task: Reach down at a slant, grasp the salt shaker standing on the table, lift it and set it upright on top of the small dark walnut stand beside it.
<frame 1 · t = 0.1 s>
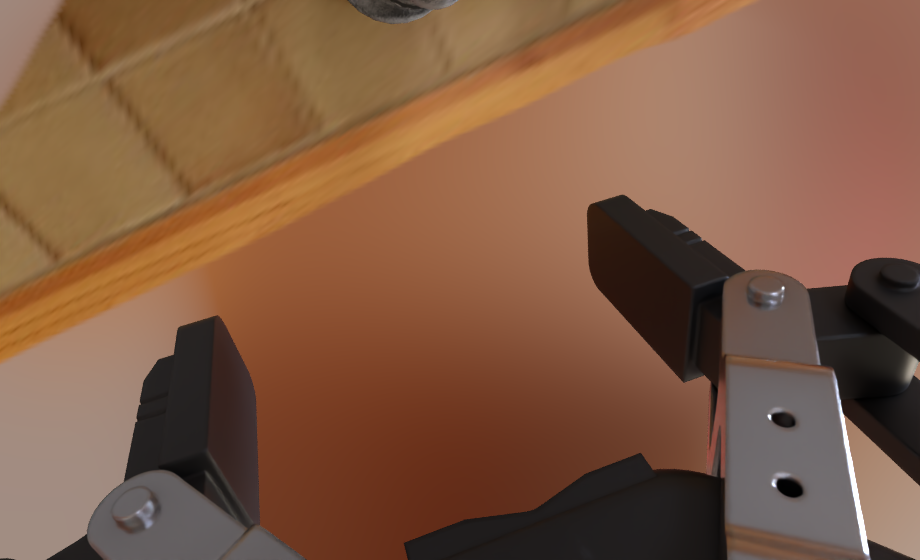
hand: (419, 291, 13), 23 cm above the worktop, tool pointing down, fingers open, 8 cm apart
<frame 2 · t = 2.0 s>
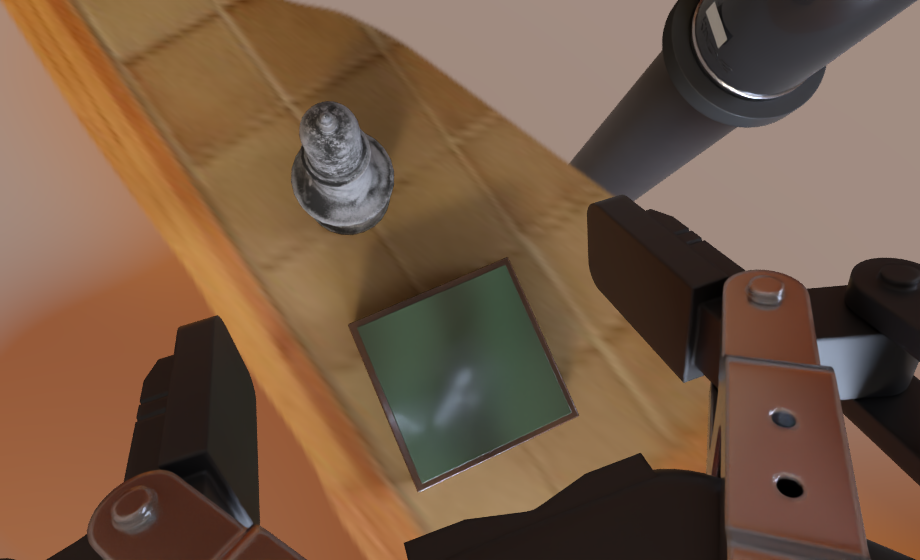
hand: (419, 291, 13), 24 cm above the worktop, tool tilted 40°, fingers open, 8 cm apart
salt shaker: (348, 195, 38), on the worktop
walnut stand: (458, 370, 37), on the worktop
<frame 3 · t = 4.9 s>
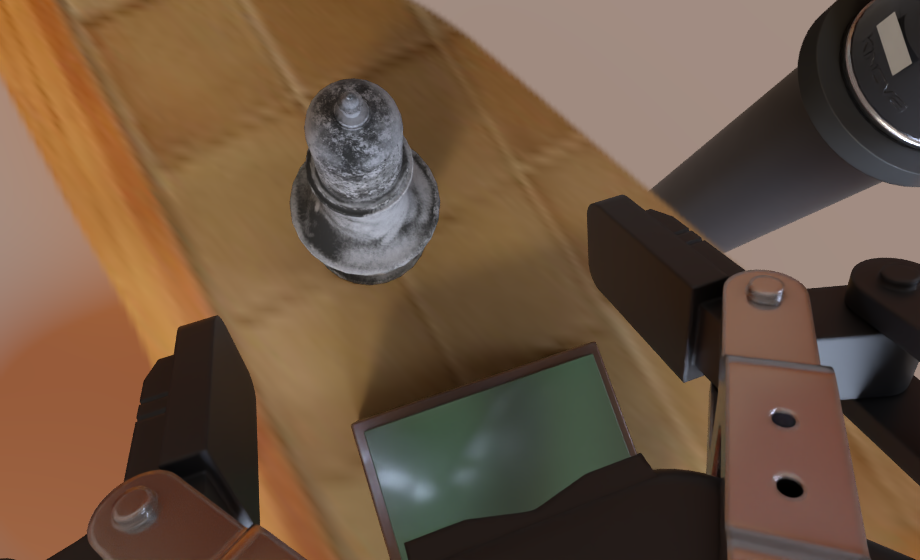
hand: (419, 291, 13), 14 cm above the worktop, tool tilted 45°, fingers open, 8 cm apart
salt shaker: (370, 229, 27), on the worktop
walnut stand: (504, 496, 25), on the worktop
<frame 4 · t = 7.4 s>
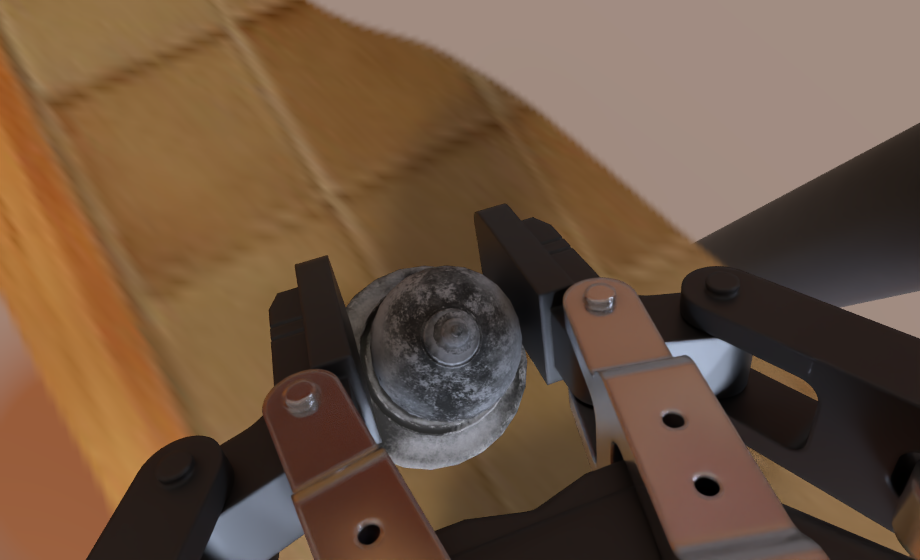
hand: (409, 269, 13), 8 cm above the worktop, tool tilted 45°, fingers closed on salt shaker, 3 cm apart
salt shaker: (422, 370, 21), on the worktop, touching gripper
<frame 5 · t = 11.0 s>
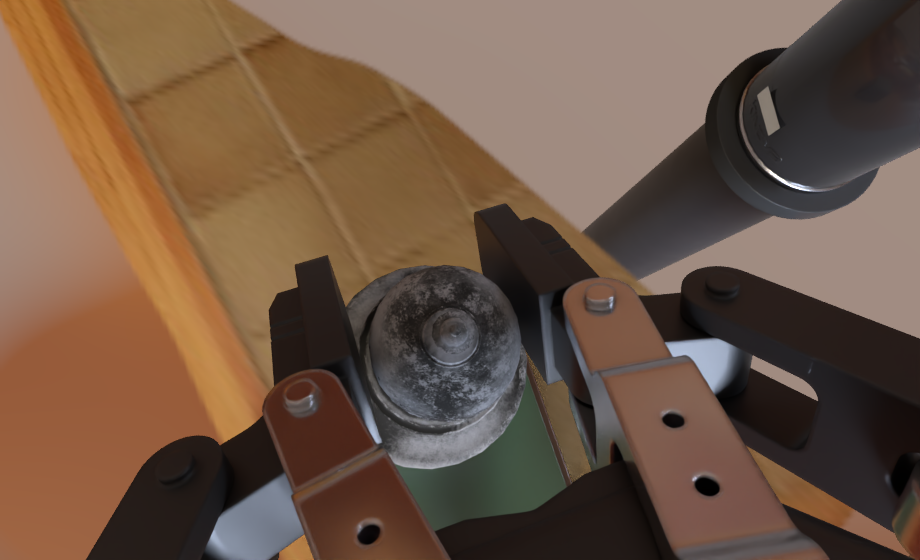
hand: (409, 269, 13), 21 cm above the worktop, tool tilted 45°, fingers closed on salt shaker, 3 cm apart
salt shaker: (422, 370, 21), point 13 cm above the worktop, touching gripper
walnut stand: (459, 468, 33), on the worktop
when the fingers open (12 cm above the worktop, at t = 14.7 s): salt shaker stays where it is, resting on walnut stand.
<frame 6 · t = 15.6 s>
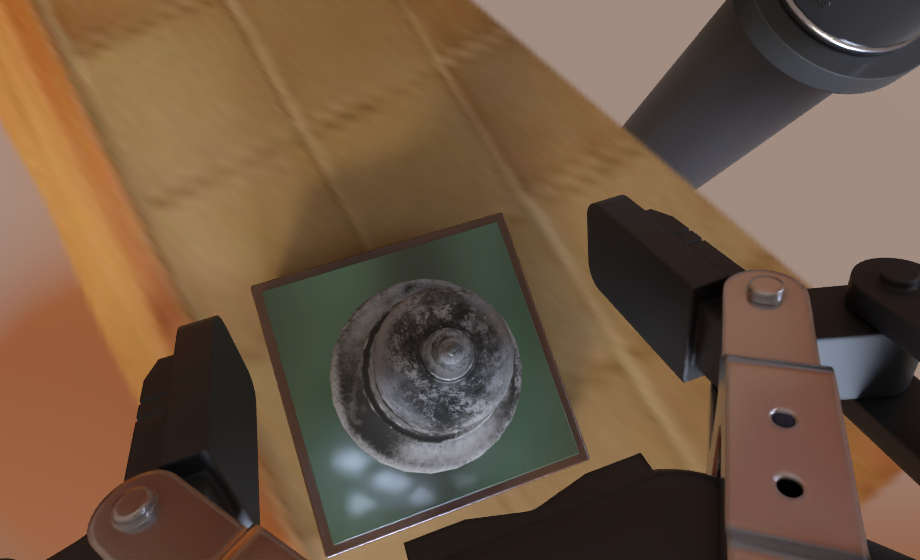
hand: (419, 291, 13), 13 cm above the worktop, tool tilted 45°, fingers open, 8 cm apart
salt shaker: (422, 377, 22), point 4 cm above the worktop, touching walnut stand
walnut stand: (417, 376, 25), on the worktop
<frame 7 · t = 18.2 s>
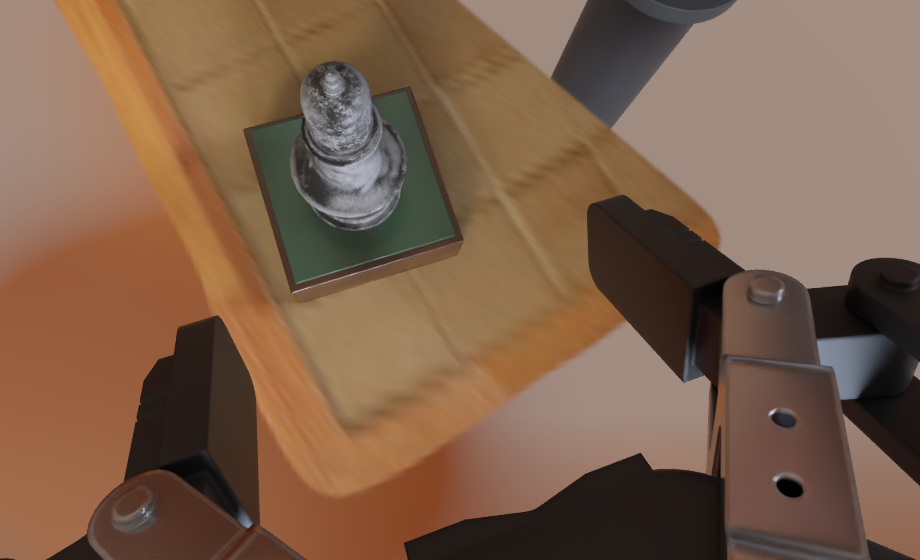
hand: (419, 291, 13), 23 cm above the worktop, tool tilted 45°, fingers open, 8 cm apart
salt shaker: (354, 187, 34), point 4 cm above the worktop, touching walnut stand
walnut stand: (357, 203, 37), on the worktop
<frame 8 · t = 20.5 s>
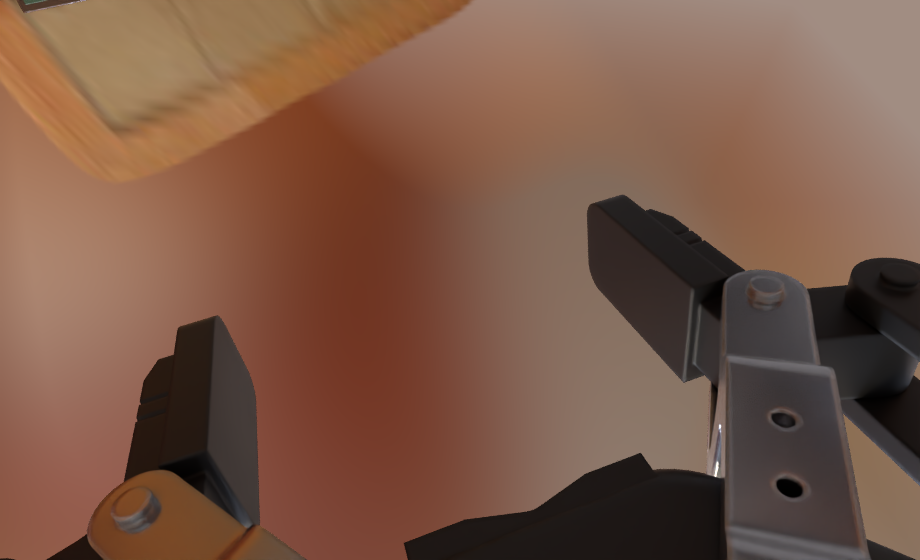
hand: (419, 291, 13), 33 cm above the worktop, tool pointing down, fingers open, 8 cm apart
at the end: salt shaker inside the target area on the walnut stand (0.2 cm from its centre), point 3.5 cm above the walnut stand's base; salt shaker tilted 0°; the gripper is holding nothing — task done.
